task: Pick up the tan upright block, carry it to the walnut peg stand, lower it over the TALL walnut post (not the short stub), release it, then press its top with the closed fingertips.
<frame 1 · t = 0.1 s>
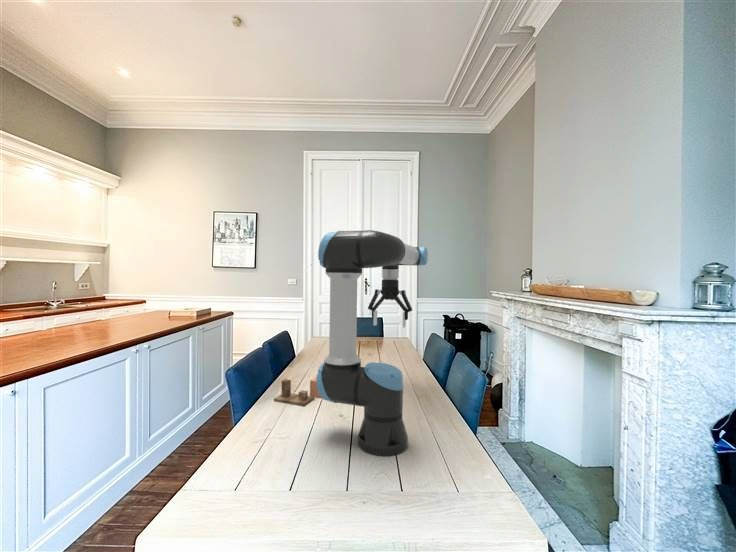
hand: (389, 326, 155), 28 cm above the table, fingers open, 13 cm apart
tan upright block: (318, 395, 145), on the table
peg stand: (294, 400, 139), on the table
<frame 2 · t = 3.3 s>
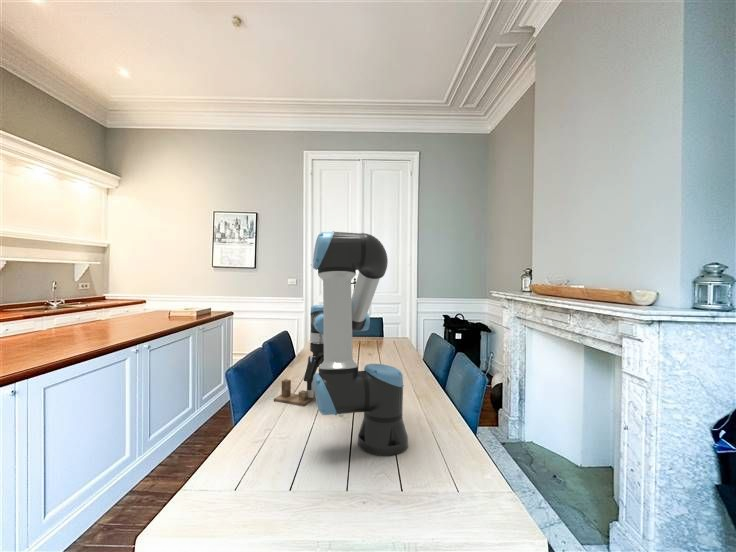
hand: (318, 392, 145), 1 cm above the table, fingers open, 13 cm apart
nothing on the table moved.
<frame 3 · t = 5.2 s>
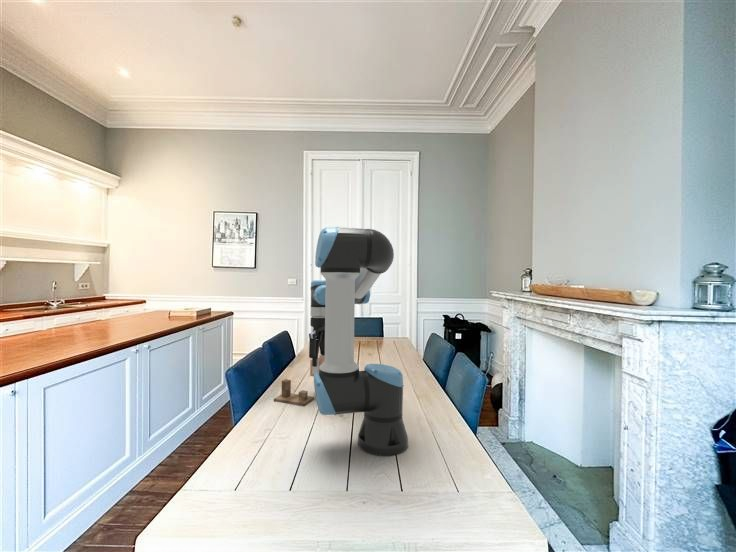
hand: (319, 372, 144), 10 cm above the table, fingers closed on tan upright block, 5 cm apart
tan upright block: (318, 375, 144), point 9 cm above the table, touching gripper
everything else where it was.
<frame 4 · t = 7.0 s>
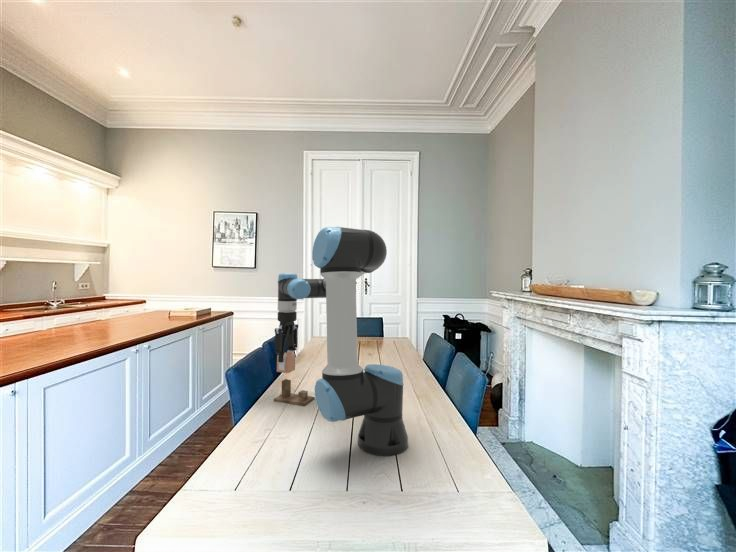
hand: (286, 367, 140), 13 cm above the table, fingers closed on tan upright block, 5 cm apart
tan upright block: (285, 370, 140), point 11 cm above the table, touching gripper
everything else where it was.
when the fingers open (3 cm above the table, at t = 8.9 s): tan upright block stays where it is, resting on peg stand.
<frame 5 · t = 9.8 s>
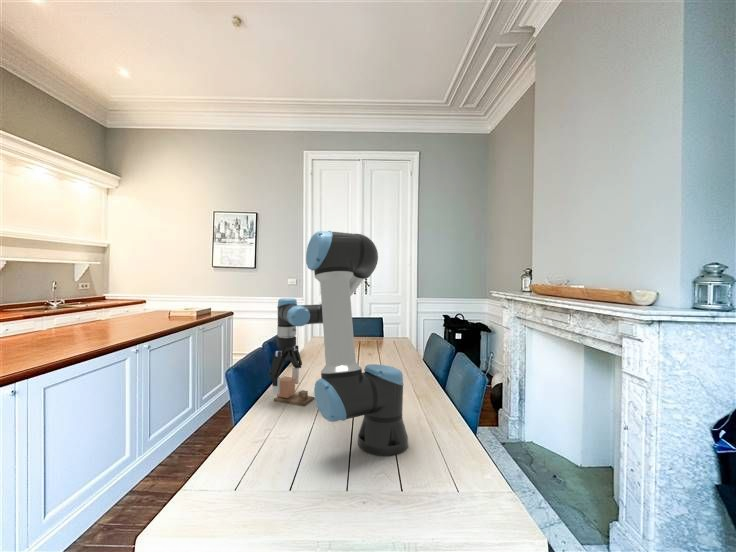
hand: (286, 388, 140), 4 cm above the table, fingers open, 13 cm apart
tan upright block: (285, 395, 140), point 1 cm above the table, touching peg stand
everything else where it was.
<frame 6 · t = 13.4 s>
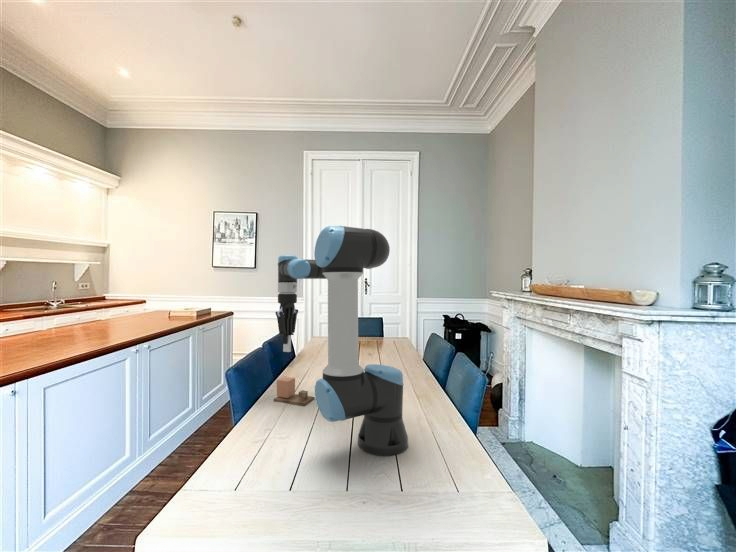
hand: (287, 351, 140), 19 cm above the table, fingers closed
nothing on the table moved.
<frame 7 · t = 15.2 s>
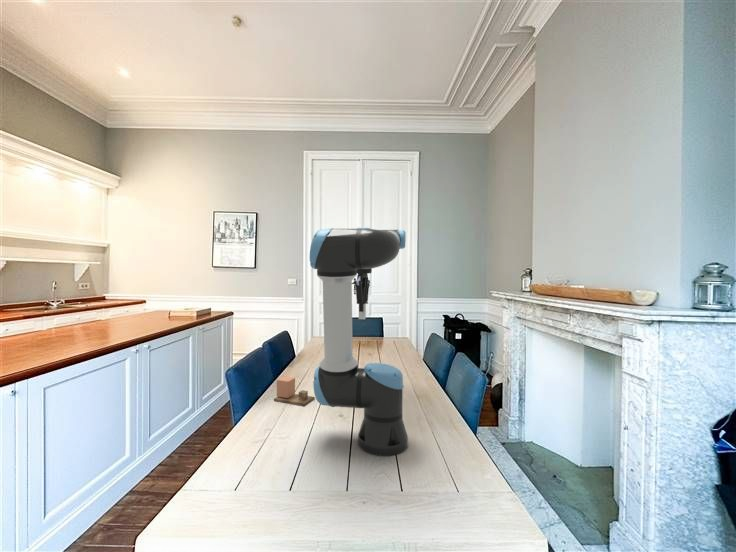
hand: (362, 319, 148), 32 cm above the table, fingers closed
nothing on the table moved.
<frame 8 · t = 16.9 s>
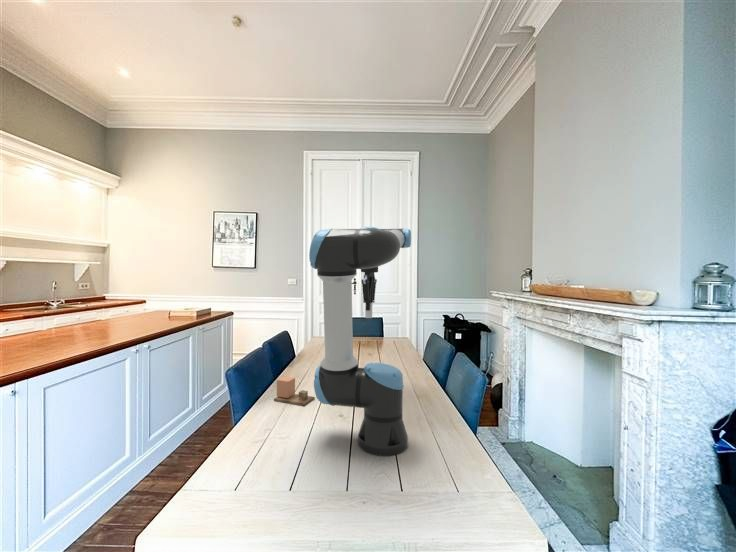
hand: (368, 317, 149), 32 cm above the table, fingers closed
nothing on the table moved.
at the end: tan upright block 0.1 cm from the target spot, point 1.5 cm above the table; tan upright block tilted 0°; the gripper is holding nothing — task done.
